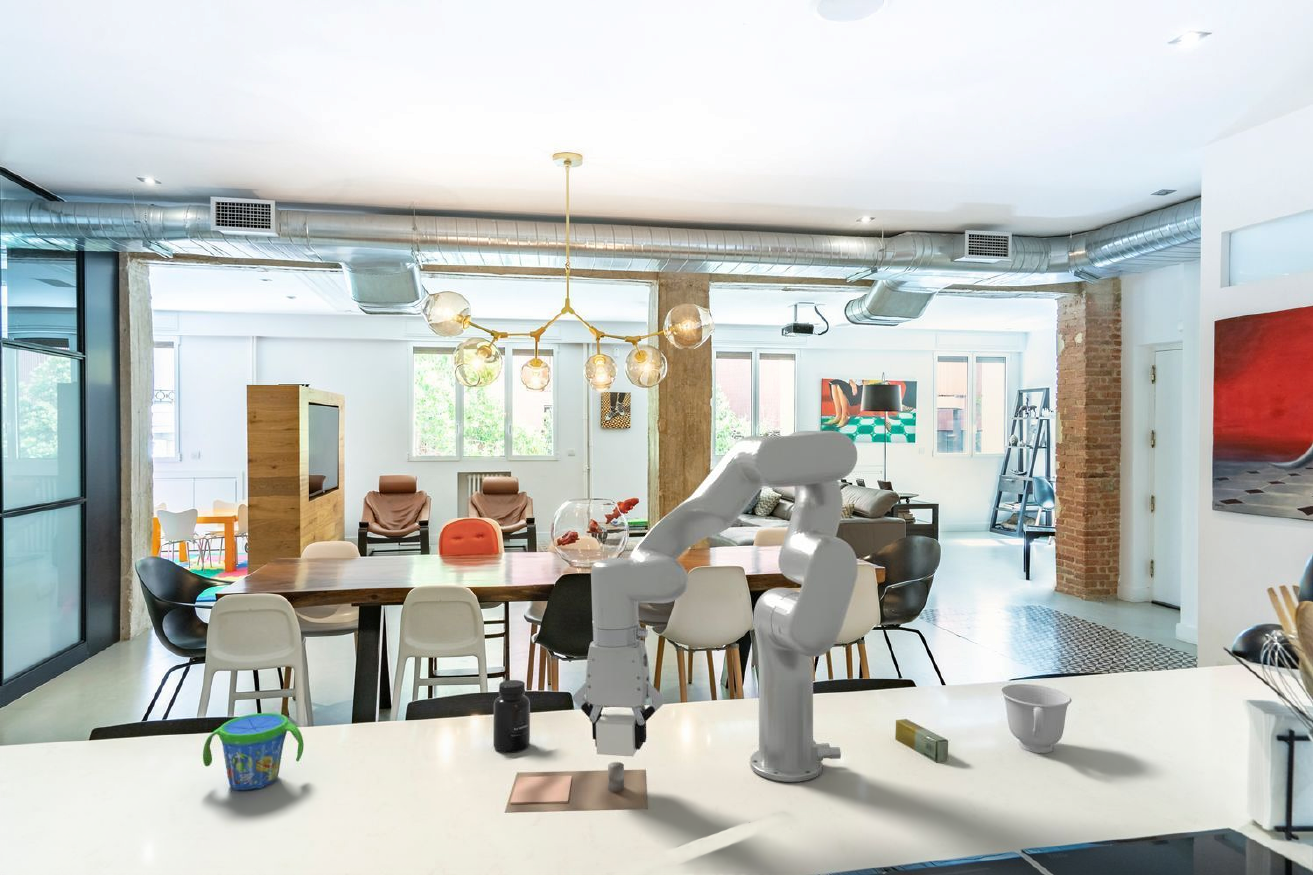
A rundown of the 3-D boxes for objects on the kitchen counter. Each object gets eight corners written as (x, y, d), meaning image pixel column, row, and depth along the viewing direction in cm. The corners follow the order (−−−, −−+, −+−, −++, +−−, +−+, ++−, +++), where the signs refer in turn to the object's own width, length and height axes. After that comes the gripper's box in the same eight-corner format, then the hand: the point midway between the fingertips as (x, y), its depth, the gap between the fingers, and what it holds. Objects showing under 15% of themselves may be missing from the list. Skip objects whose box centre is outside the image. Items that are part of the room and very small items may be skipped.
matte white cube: (642, 741, 130) (641, 711, 130) (633, 756, 125) (632, 725, 125) (607, 739, 132) (606, 709, 132) (596, 754, 126) (595, 723, 126)
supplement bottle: (522, 755, 145) (521, 690, 145) (487, 752, 147) (487, 688, 146) (535, 740, 152) (534, 678, 152) (502, 738, 153) (501, 676, 153)
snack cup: (313, 767, 140) (312, 711, 140) (287, 795, 130) (287, 733, 130) (223, 769, 139) (222, 712, 139) (190, 797, 129) (190, 735, 129)
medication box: (949, 762, 142) (949, 739, 142) (937, 764, 141) (937, 741, 141) (905, 738, 153) (906, 717, 153) (894, 739, 152) (894, 719, 152)
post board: (645, 778, 135) (645, 747, 135) (648, 818, 121) (647, 784, 121) (517, 781, 134) (516, 750, 134) (504, 821, 120) (504, 787, 120)
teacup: (1002, 760, 142) (1001, 705, 142) (999, 731, 155) (999, 680, 155) (1077, 771, 137) (1077, 714, 137) (1068, 739, 151) (1067, 688, 151)
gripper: (672, 630, 130) (676, 738, 130) (573, 627, 133) (576, 732, 134) (663, 643, 122) (666, 758, 123) (558, 640, 126) (561, 751, 126)
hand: (619, 743), depth 128 cm, fingers closed on matte white cube, 6 cm apart
